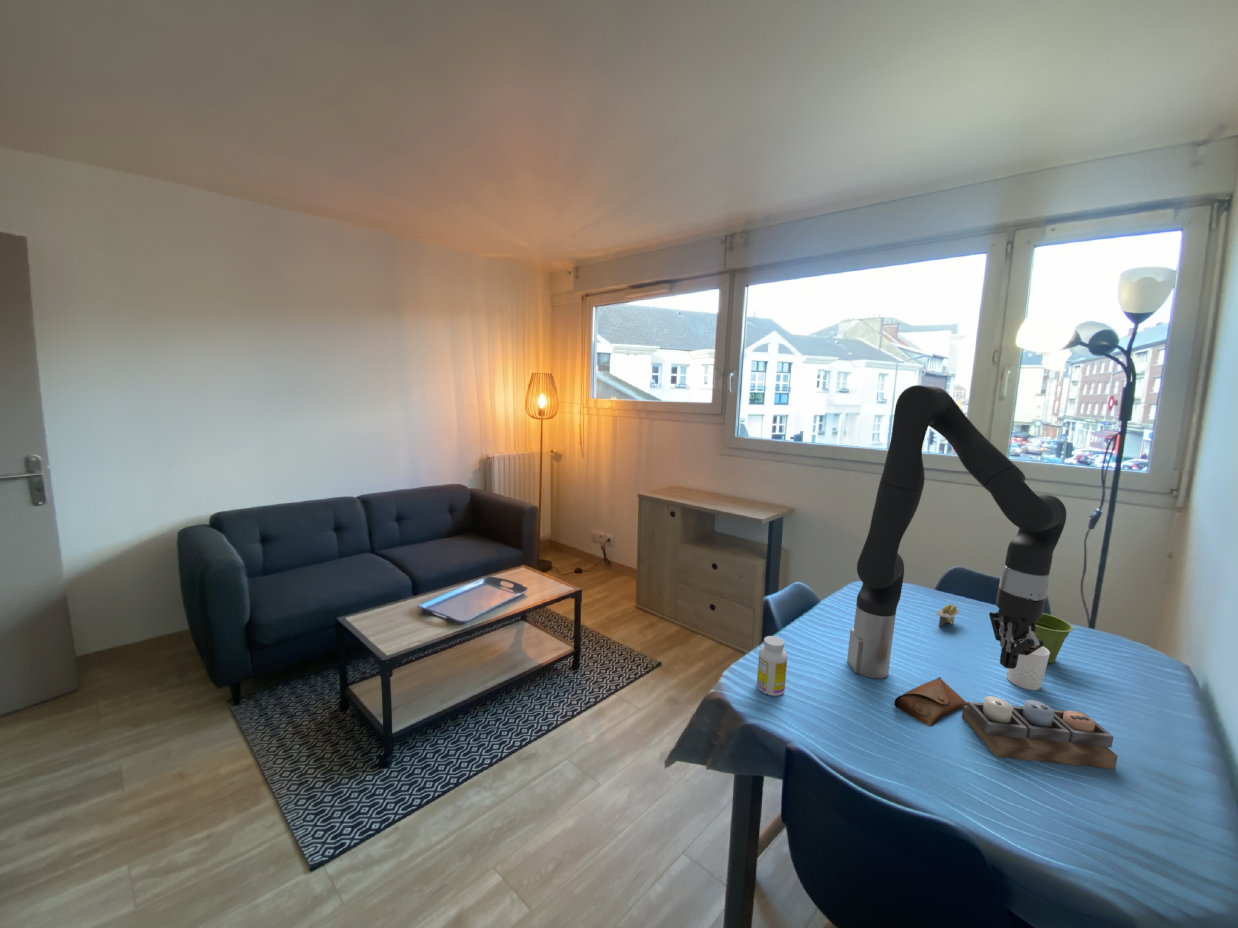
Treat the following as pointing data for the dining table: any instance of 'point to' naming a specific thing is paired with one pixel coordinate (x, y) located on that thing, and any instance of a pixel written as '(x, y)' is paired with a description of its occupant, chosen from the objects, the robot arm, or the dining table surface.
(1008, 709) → the button one
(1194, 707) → the dining table surface
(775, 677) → the supplement bottle
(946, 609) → the platform
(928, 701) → the sunglasses case
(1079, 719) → the button three
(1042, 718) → the button two
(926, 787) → the dining table surface
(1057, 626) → the plant pot
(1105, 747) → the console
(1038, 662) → the white cup
